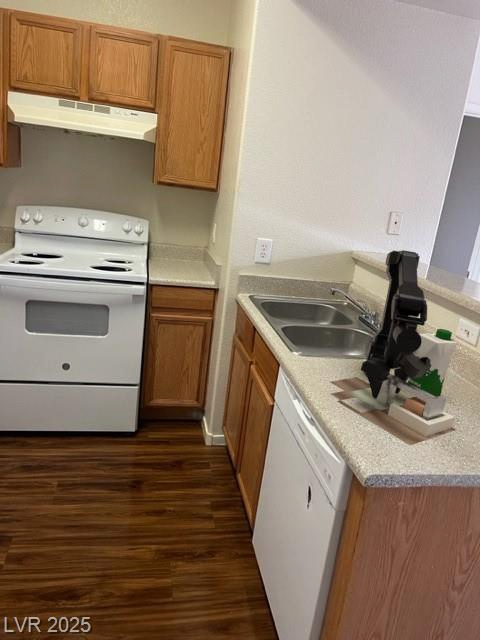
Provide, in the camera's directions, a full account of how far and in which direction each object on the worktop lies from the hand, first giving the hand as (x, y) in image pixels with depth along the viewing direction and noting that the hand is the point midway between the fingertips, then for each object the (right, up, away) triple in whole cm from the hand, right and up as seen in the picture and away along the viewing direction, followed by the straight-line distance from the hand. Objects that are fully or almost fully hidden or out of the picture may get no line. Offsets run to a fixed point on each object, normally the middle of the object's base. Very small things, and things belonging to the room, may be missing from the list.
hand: (385, 395), depth 127 cm
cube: (+5, -5, -7) cm, 10 cm away
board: (-3, -4, -2) cm, 5 cm away
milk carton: (+14, -2, +13) cm, 19 cm away
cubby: (+6, -5, -8) cm, 11 cm away
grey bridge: (+3, -4, -5) cm, 7 cm away
